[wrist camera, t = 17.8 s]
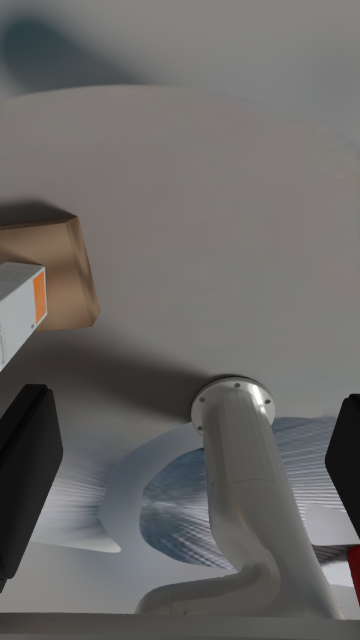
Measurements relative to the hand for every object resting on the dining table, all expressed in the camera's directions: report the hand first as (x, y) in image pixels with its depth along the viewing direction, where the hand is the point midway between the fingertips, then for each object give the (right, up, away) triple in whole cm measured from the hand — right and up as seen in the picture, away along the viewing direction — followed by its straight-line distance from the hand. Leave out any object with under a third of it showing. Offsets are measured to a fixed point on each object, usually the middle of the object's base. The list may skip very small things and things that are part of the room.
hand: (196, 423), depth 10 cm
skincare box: (-18, +7, +26) cm, 32 cm away
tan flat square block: (-18, +10, +30) cm, 36 cm away
